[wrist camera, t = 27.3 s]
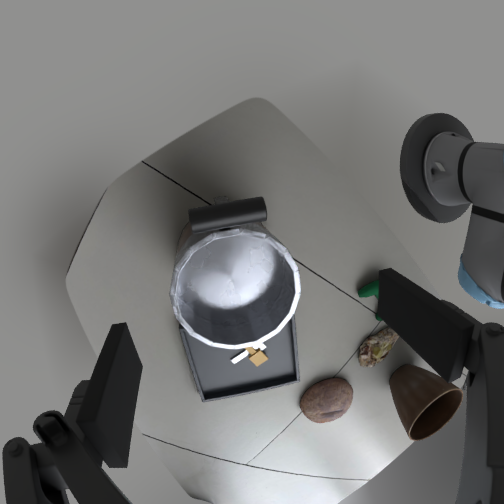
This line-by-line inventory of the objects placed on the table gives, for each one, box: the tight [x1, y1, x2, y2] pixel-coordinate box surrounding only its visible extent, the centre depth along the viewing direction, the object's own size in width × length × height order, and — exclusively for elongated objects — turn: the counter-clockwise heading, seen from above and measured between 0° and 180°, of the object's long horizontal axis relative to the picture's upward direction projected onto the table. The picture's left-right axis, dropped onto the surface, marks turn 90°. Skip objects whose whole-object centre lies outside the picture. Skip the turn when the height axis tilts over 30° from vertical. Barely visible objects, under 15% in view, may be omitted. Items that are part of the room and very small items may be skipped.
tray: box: [179, 314, 300, 402], centre depth 54 cm, size 17×19×2 cm
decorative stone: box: [300, 378, 353, 423], centre depth 60 cm, size 12×12×6 cm
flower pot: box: [389, 364, 463, 441], centre depth 58 cm, size 15×15×16 cm
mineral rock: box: [359, 328, 399, 368], centre depth 60 cm, size 11×4×8 cm
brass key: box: [245, 346, 269, 366], centre depth 54 cm, size 7×3×1 cm, turn 37°
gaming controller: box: [358, 280, 383, 321], centre depth 55 cm, size 9×4×6 cm
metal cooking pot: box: [169, 196, 301, 350], centre depth 33 cm, size 18×14×13 cm
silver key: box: [231, 343, 266, 364], centre depth 54 cm, size 7×3×1 cm, turn 126°
